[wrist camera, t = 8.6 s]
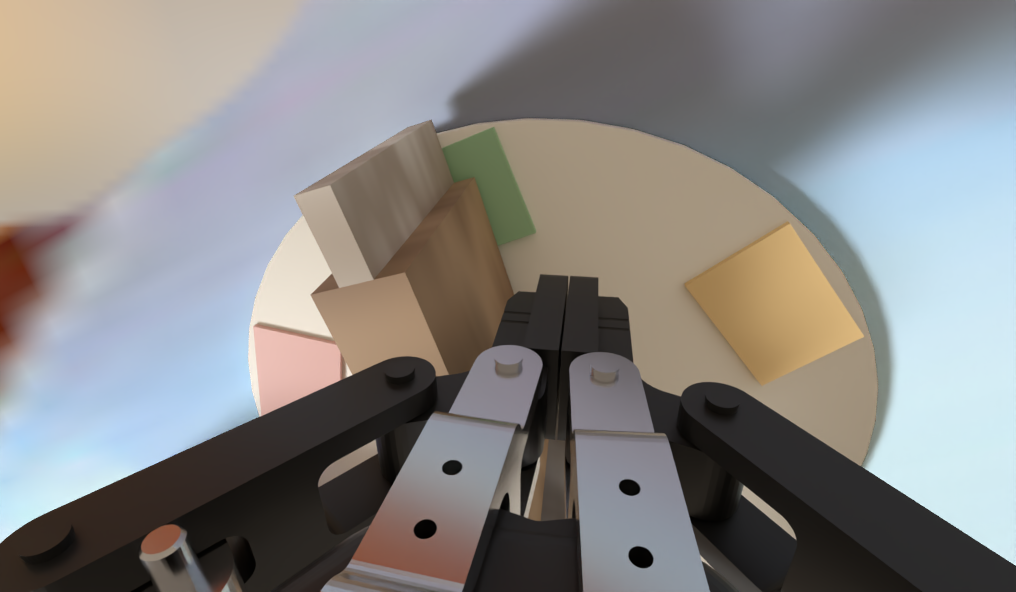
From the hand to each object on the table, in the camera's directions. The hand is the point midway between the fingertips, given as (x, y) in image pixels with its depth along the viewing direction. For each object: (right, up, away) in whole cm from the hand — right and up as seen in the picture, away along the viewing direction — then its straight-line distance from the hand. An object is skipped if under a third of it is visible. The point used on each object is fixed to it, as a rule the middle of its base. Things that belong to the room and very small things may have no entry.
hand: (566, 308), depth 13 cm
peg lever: (-2, -1, +5) cm, 6 cm away
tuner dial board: (0, -5, +9) cm, 10 cm away
